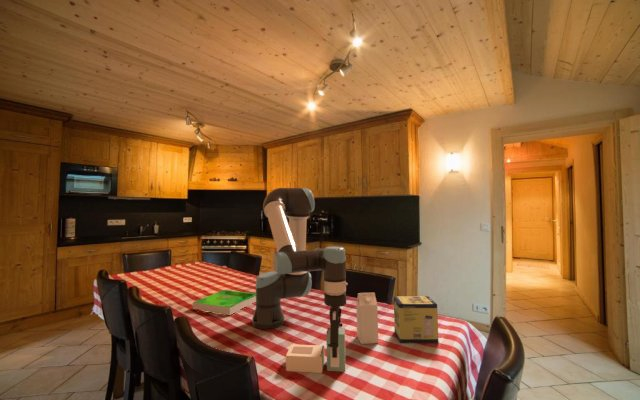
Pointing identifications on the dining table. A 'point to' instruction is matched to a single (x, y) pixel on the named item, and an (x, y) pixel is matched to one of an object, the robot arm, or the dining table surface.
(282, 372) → the dining table surface
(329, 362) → the pale green block
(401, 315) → the protein box
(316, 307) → the dining table surface
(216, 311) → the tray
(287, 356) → the block
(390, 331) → the dining table surface
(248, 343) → the dining table surface
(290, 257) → the robot arm
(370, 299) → the milk carton
